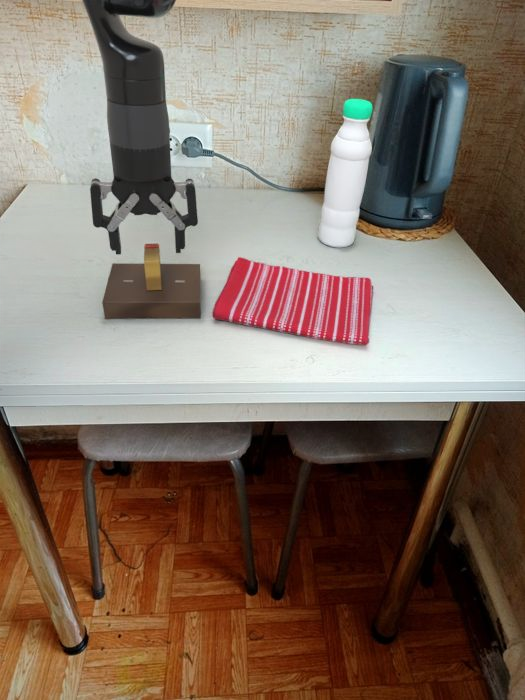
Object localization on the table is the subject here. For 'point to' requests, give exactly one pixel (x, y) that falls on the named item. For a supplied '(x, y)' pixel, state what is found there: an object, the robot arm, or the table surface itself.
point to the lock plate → (153, 293)
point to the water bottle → (346, 175)
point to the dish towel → (297, 302)
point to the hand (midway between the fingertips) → (148, 251)
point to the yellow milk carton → (152, 266)
